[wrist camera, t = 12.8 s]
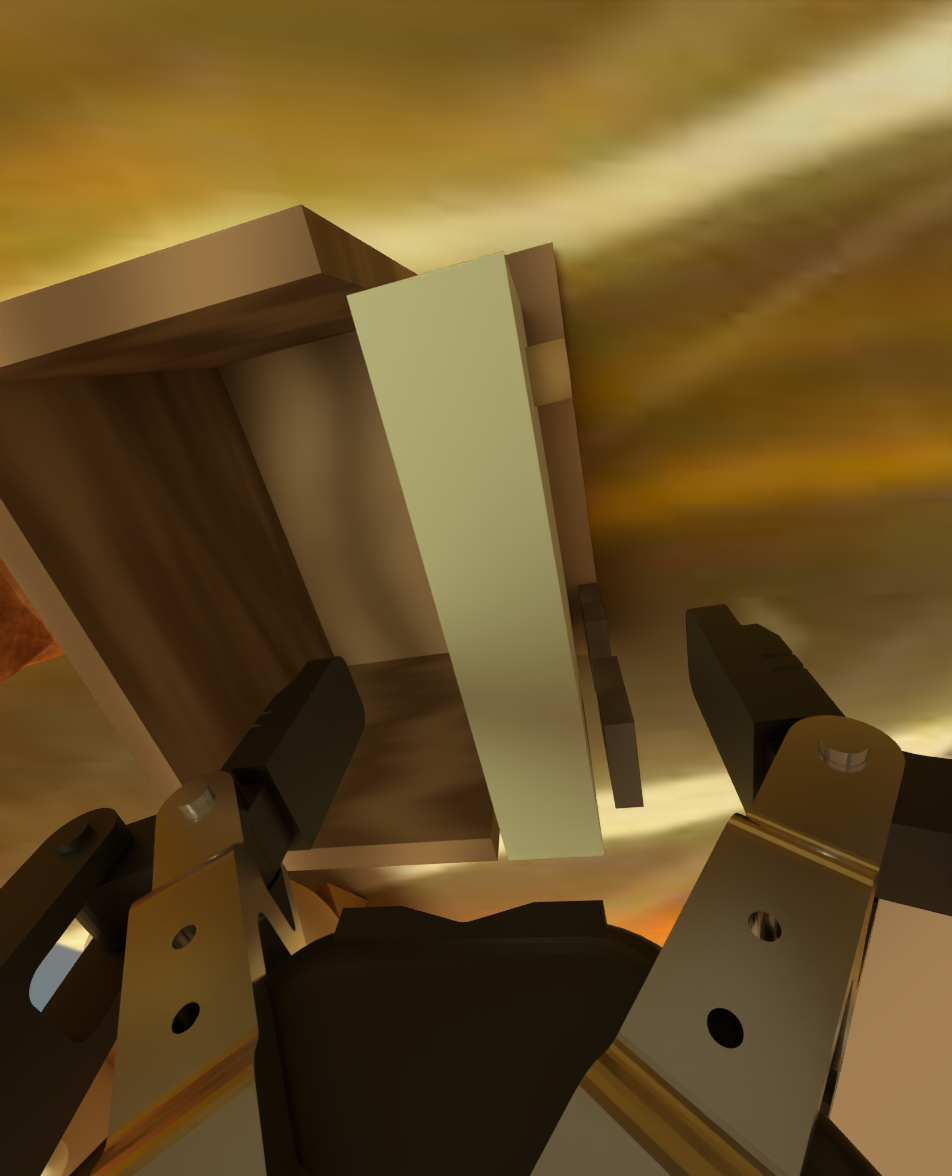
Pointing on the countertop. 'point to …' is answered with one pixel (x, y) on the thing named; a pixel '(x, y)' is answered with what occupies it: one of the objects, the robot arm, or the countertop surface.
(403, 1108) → the robot arm
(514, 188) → the countertop surface
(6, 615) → the bread
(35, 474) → the cabinet
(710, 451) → the countertop surface
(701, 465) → the countertop surface
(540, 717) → the door
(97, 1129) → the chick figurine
